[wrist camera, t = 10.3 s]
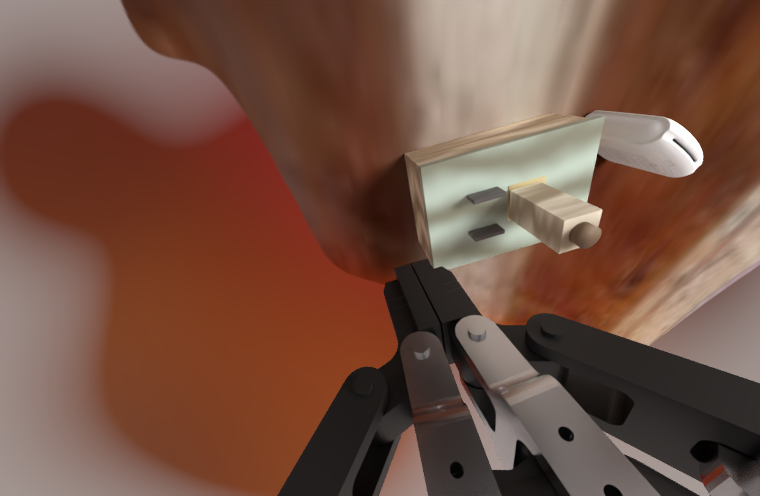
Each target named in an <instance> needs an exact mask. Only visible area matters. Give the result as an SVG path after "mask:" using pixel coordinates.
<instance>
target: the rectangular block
mask: <svg viewBox="0 0 760 496" xmlns="http://www.w3.org/2000/svg"><path fill="white" fill-rule="evenodd" d="M604 120H605V116H599V115H598V116H594V117H591V118H585V117H577V116H573V115H561V114H553V113H549V114H546V115H542V116H539V117H535V118H531V119H528V120H524V121H520V122H517V123H513V124H510V125H506V126H502V127H499V128H495V129H491V130H488V131H484V132H481V133H477V134H473V135H470V136H466V137H463V138H459V139H455V140H452V141H448V142H444V143H441V144H437V145H434V146H430V147H426V148H423V149H419V150H415V151H412V152H408V153H405V154H404V156H405V162H406V168H407V174H408V180H409V187H410V193H411V199H412V205H413V211H414V217H415V223H416V229H417V235H418V241H419V244H420V245H421V247H422V248H423V250H424V252H425V255H427V256H428V258H429V260H430V261H431V263H432V267H433V269H434V268H437V267H441V266H442V267H444V268H446V269H447V270H448V269H452V268H455V267H459V266H462V265H465V264H469V263H472V262H475V261H479V260H482V259H485V258H489V257H492V256H496V255H499V254H502V253H506V252H509V251H512V250H516V249H519V248H523V247H526V246H529V245H533V244H536V243H539V242H542V241H540V240H539V239H537V238H536V237H535V236H533V235H532V234H530V233H529V232H528V231H526V230H525V229H523V228H522V227H521V226H519V225H518V224H516V223H515V222H513V221H512V220H511V219H509V209H510V190H514V189H517V188H521V187H524V186H528V185H531V184H534V183H538V182H542V183H544V184H546V185H548V186H551V187H553V188H555V189H557V190H560V191H562V192H564V193H566V194H569V195H571V196H573V197H575V198H578V199H580V200H582V201H584V202H587V199H588V195H589V190H590V185H591V181H592V176H593V171H594V167H595V162H596V157H597V153H598V148H599V143H600V139H601V134H602V130H603V125H604Z"/></svg>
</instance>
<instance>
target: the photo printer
mask: <svg viewBox="0 0 760 496" xmlns="http://www.w3.org/2000/svg"><path fill="white" fill-rule="evenodd" d="M598 115H599V116H605V120H604V125H603V130H602V134H601V139H600V143H599V148H598V154H599V155H600V156H602V157H603V158H605V159H606V160H609V161H611V162H615V163H619V164H623V165H627V166H631V167H634V168H638V169H642V170H646V171H649V172H653V173H657V174H661V175H664V176H668V177H683V176H687V175H690V174H692V173H693V172H694V171H695V170H696V168H697V167H699V166H700V165H701V164H702V161H703V153H702V149H701V147H700V145H699V143H698V142H697V141H696V139H695V138H694V137H693V136H692V135H691V134H690V133H689V132H688V131H687V130H686V129H685V128H684V127H682V126H681V125H680V124H678V123H677V122H675V121H673V120H671V119H668V118H665V117H660V116H651V115H641V114H632V113H621V112H611V111H600V110H597V111H594V112H593V113H590V114H588V115H587V116H586V117H585V118H591V117H594V116H598Z"/></svg>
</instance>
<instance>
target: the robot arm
mask: <svg viewBox="0 0 760 496" xmlns="http://www.w3.org/2000/svg"><path fill="white" fill-rule="evenodd" d="M394 272H395V277H396V280H394V281H390V282H387V283H386V284H385V288H384V296H385V299H386V303H387V306H388V310H389V313H390V317H391V320H392V323H393V326H394V330H395V333H396V337H397V340H398V349H397V352H396V354H395V355H394V357H393V358H392V359H391V360H390V361H389V362H388V363H386V364H385V365H383V366H382V367H380V368H379V369H376V368H373V367H362V368H359V369H357V370H355V371H354V372H352V373H351V374H350V375H349V376H348V377H347V379H346V380H345V382H344V383H343V385H342V387H341V389H340V390H339V392H338V394H337V395H336V397H335V399H334V400H333V402H332V404H331V406H330V407H329V409H328V411H327V412H326V414H325V416H324V417H323V419H322V421H321V423H320V424H319V426H318V428H317V429H316V431H315V433H314V434H313V436H312V438H311V440H310V441H309V443H308V445H307V446H306V448H305V450H304V451H303V453H302V455H301V456H300V458H299V460H298V462H297V463H296V465H295V467H294V468H293V470H292V472H291V474H290V475H289V477H288V479H287V480H286V482H285V484H284V485H283V487H282V489H281V490H280V492H279V494H278V496H379V494H380V491H381V488H382V486H383V483H384V480H385V478H386V475H387V472H388V470H389V467H390V464H391V462H392V459H393V456H394V454H395V451H396V448H397V445H398V443H399V440H400V438H401V434H402V433H403V432H404V431H405V430H406V429H408V428H409V427H410V426H411V425H412V424H414V427H415V433H416V438H417V443H418V448H419V452H420V457H421V462H422V467H423V472H424V477H425V482H426V487H427V492H428V496H699V495H697V494H696V493H694V492H692V491H690V490H688V489H687V488H685V487H683V486H682V485H680V484H678V483H676V482H675V481H673V480H671V479H669V478H667V477H666V476H664V475H662V474H660V473H659V472H657V471H655V470H654V469H652V468H650V467H648V466H646V465H644V464H643V463H641V462H639V461H637V460H636V459H633V458H631V457H629V456H627V455H624V454H623V453H622V452H621V451H620V450H619V449H618V448H617V447H616V446H615V444H614V443H613V442H612V441H611V440H610V439H609V438H608V436H606V434H605V433H604V432H603V431H605V432H606V433H608V434H610V435H612V436H614V437H616V438H618V439H620V440H622V441H624V442H625V443H627V444H630V445H631V446H633V447H635V448H637V449H639V450H641V451H643V452H645V453H647V454H648V455H651V456H652V457H654V458H656V459H658V460H660V461H662V462H664V463H666V464H668V465H670V466H671V467H673V468H675V469H677V470H679V471H681V472H683V473H685V474H687V475H689V476H691V477H693V478H695V479H696V480H698V481H700V482H702V483H703V484H704V486H705V488H706V490H707V491H708V493H709V494H710V496H760V383H757V382H754V381H751V380H748V379H745V378H742V377H739V376H736V375H733V374H730V373H727V372H724V371H721V370H718V369H715V368H712V367H709V366H706V365H703V364H700V363H697V362H694V361H691V360H689V359H686V358H683V357H680V356H677V355H673V354H671V353H668V352H665V351H661V350H659V349H656V348H653V347H650V346H647V345H644V344H641V343H638V342H635V341H632V340H629V339H626V338H623V337H620V336H617V335H614V334H611V333H608V332H605V331H602V330H599V329H596V328H593V327H590V326H587V325H584V324H581V323H578V322H575V321H572V320H569V319H566V318H563V317H560V316H557V315H554V314H547V313H543V314H537V315H534V316H532V317H531V318H530V319H529V320H528V321H527V324H526V325H499V324H495V323H494V322H493V321H492V320H490V319H488V318H486V317H484V316H482V315H481V314H480V312H479V311H478V309H477V308H476V307H475V305H474V304H473V302H472V301H471V299H470V298H469V297H468V295H467V294H466V292H465V291H464V289H463V288H462V286H461V285H460V284H459V282H457V279H456V278H455V276H454V275H453V274H452V272H451V271H449V270H447V269H446V268H444V267H442V266H441V267H437V268H434V269H433V267H432V266H431V264H430V262H429V261H428V259H423V260H420V261H416V262H413V263H411V265H410V264H407V265H403V266H400V267H396V268H394ZM452 363H455V364H456V367H457V368H458V371H459V375H460V381H461V384H462V386H463V387H464V389H465V391H466V393H467V395H468V396H469V398H470V400H471V401H472V403H473V405H474V407H475V409H476V411H477V412H478V414H479V416H480V418H481V419H482V421H483V423H484V425H485V426H486V428H487V430H488V432H489V434H490V436H491V438H492V440H493V443H494V446H495V449H496V452H497V454H498V457H499V459H500V461H501V463H502V465H503V467H504V469H505V470H492V469H491V466H490V464H489V461H488V458H487V456H486V453H485V451H484V448H483V445H482V442H481V440H480V437H479V434H478V432H477V429H476V427H475V424H474V421H473V419H472V416H471V414H470V411H469V409H468V407H467V405H466V404H465V403H464V402H463V400H462V398H461V395H460V393H459V390H458V387H457V384H456V382H455V379H454V376H453V374H452V371H451V369H450V366H449V364H452Z"/></svg>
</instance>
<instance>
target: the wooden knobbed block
mask: <svg viewBox="0 0 760 496" xmlns="http://www.w3.org/2000/svg"><path fill="white" fill-rule="evenodd" d="M601 214H602V209H600V208H598V207H596V206H593V205H591V204H589V203H587V202H584V201H582V200H580V199H578V198H575V197H573V196H571V195H569V194H566V193H564V192H562V191H560V190H557V189H555V188H553V187H551V186H548V185H546V184H544V183H542V182H538V183H534V184H531V185H528V186H524V187H521V188H517V189H514V190H510V209H509V219H511V220H512V221H513V222H515V223H516V224H518V225H519V226H521V227H522V228H523V229H525V230H526V231H528V232H529V233H530V234H532V235H533V236H535V237H536V238H537V239H539V240H540V241H542V242H543V243H544V244H546V245H547V246H549V247H550V248H551V249H553V250H554V251H556V252H557V253H558V254H560V253H563V252H567V251H570V250H573V249H577V248H582V249H586V248H589V247H591V246H593V245H594V244H595V243H596V242H597V241H598V240H599V238H600V236H601V229H600V228H598V226H599V222H600V218H601Z"/></svg>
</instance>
